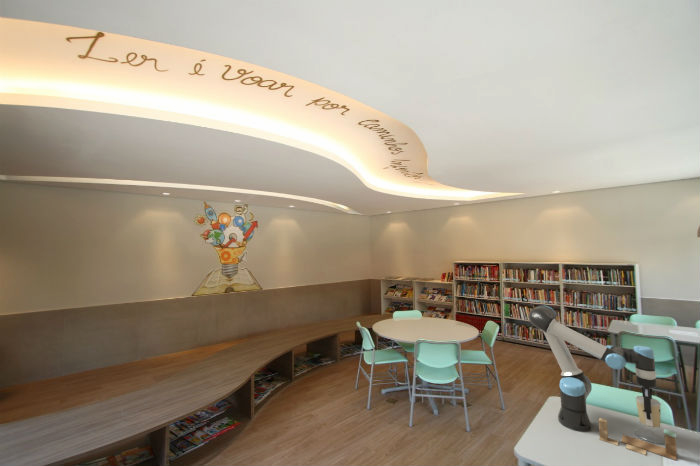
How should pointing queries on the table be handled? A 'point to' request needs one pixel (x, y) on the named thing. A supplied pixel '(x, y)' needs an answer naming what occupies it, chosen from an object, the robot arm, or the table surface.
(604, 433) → the broken strip
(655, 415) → the coffee cup
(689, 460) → the table surface
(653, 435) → the coaster
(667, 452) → the wooden l bracket
